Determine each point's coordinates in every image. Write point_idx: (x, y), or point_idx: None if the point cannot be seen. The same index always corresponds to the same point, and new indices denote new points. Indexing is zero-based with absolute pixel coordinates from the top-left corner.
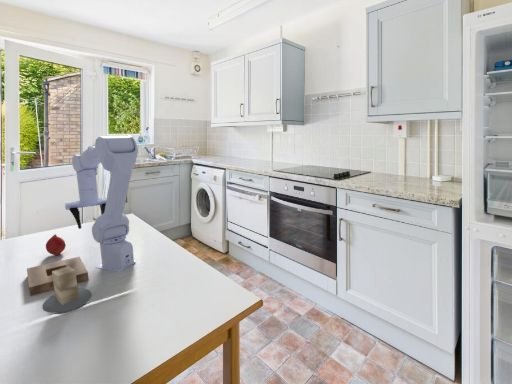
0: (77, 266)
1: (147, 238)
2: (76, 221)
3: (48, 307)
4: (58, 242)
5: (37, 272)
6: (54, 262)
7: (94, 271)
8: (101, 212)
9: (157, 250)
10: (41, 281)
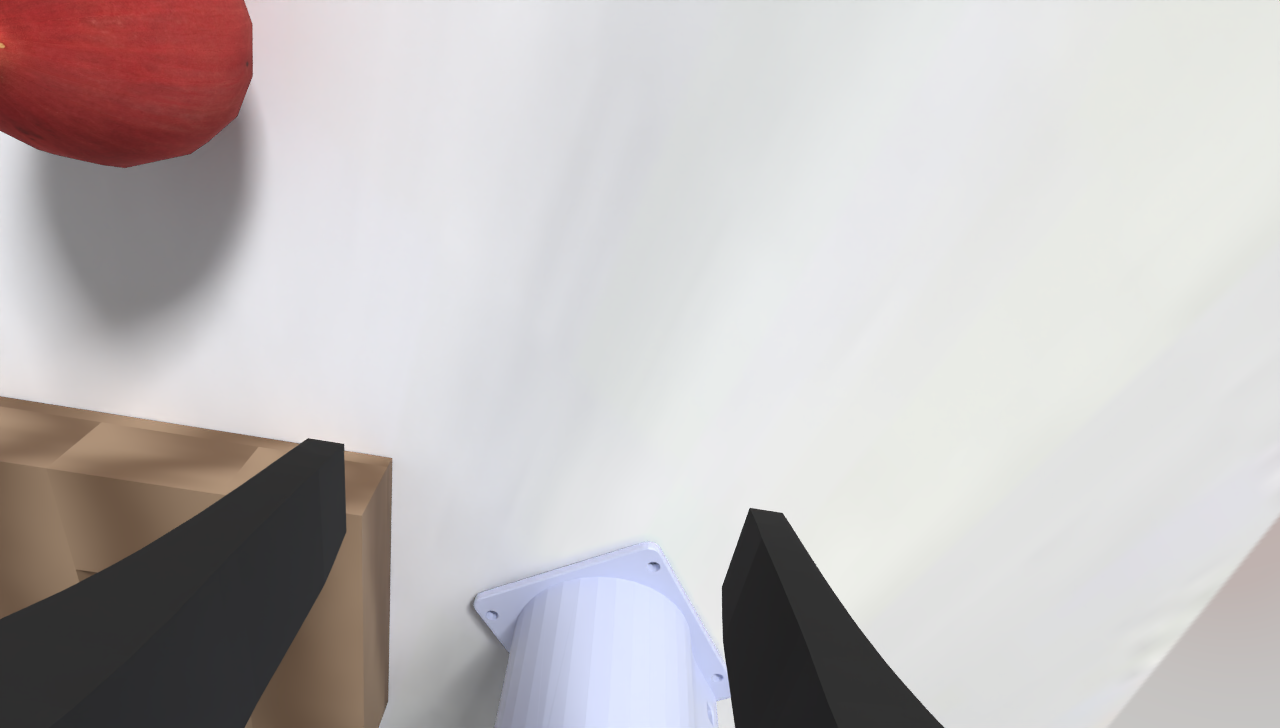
0: (315, 667)
1: (1246, 318)
2: (213, 519)
3: None
4: (95, 152)
5: (17, 572)
6: (136, 487)
7: (454, 617)
8: (805, 725)
9: (998, 627)
10: None
